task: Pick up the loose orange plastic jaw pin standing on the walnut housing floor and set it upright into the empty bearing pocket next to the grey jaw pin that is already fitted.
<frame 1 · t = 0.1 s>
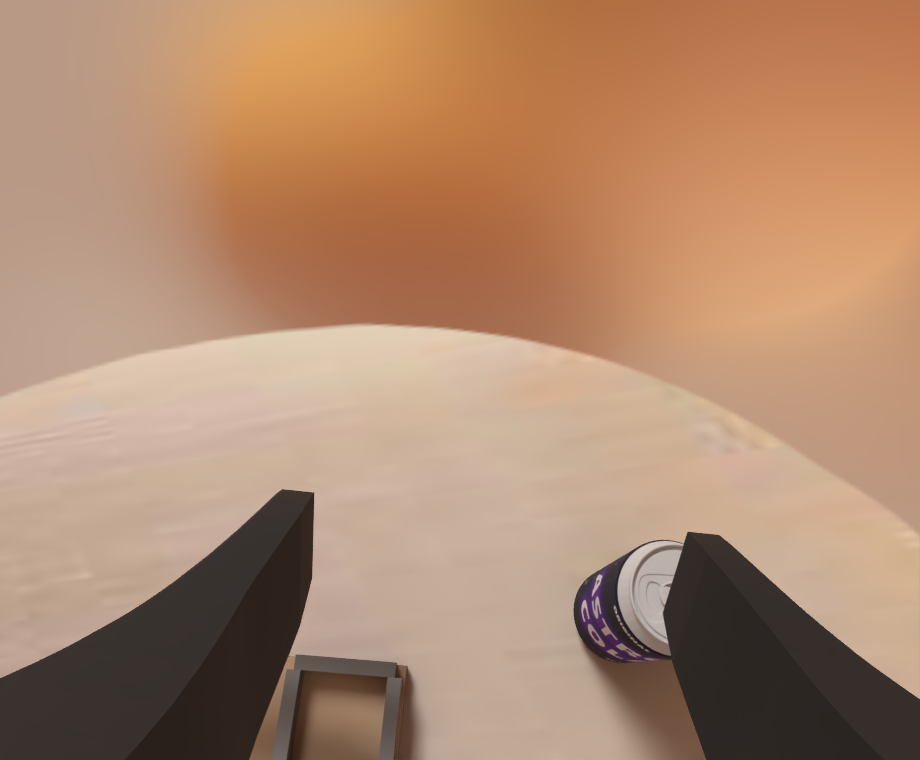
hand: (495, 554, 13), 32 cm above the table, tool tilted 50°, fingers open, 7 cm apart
beverage can: (613, 615, 43), on the table
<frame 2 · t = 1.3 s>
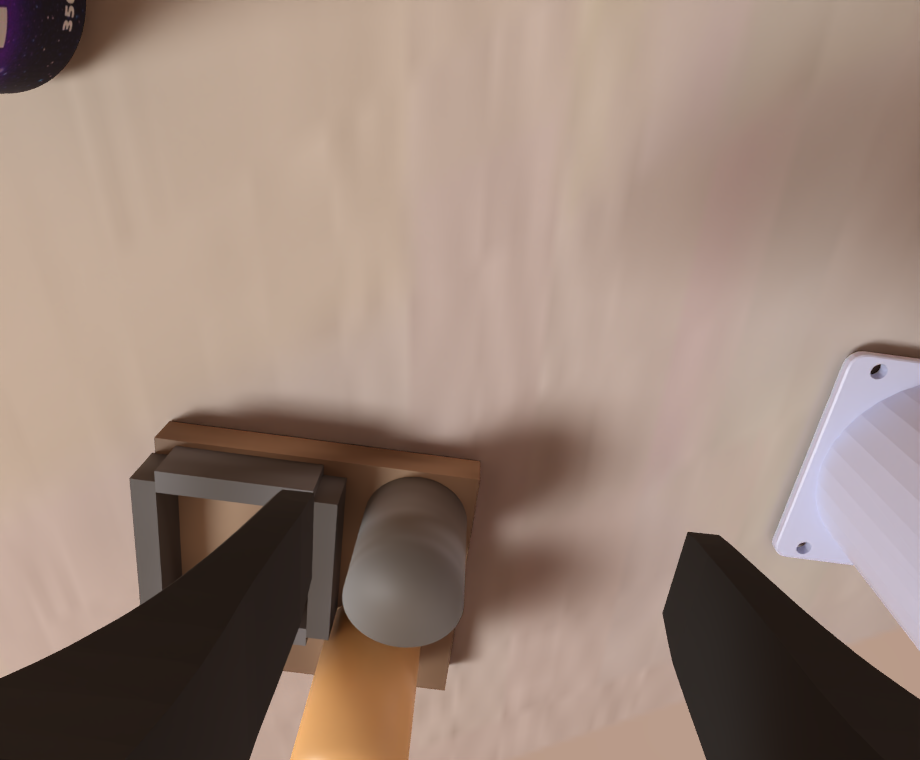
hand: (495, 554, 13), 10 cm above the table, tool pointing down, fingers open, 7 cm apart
jaw pin: (374, 634, 26), point 1 cm above the table, touching housing
housing: (319, 554, 26), on the table
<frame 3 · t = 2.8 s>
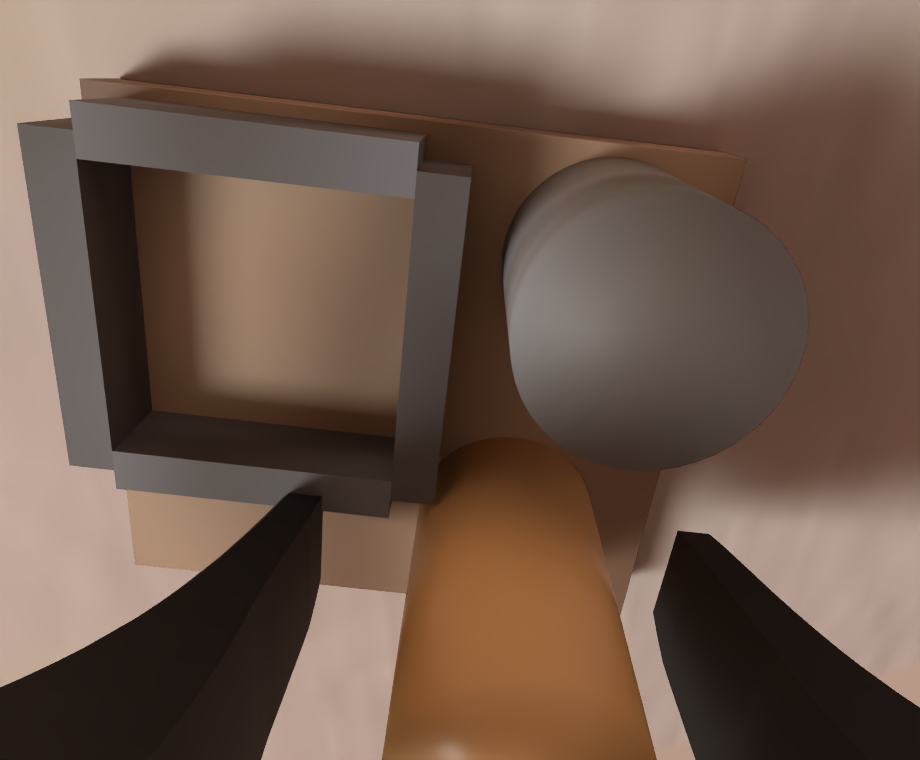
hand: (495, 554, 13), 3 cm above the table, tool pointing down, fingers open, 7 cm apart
jaw pin: (504, 511, 14), point 1 cm above the table, touching housing
housing: (401, 368, 14), on the table
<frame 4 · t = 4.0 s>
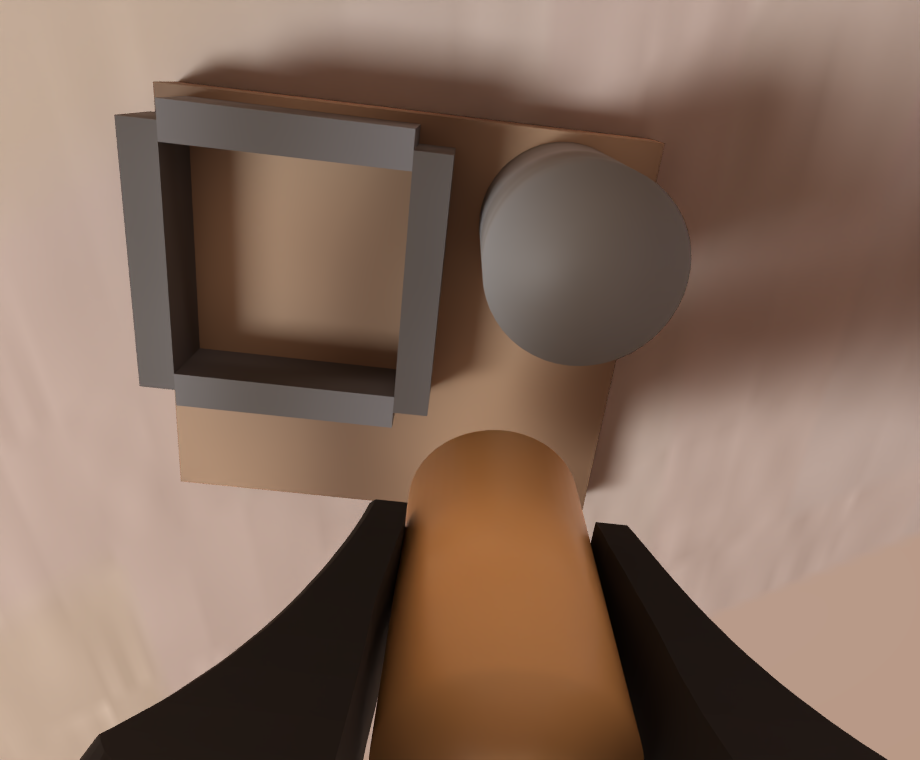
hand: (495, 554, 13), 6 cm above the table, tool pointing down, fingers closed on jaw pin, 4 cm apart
jaw pin: (492, 504, 14), point 5 cm above the table, touching gripper
housing: (400, 315, 17), on the table
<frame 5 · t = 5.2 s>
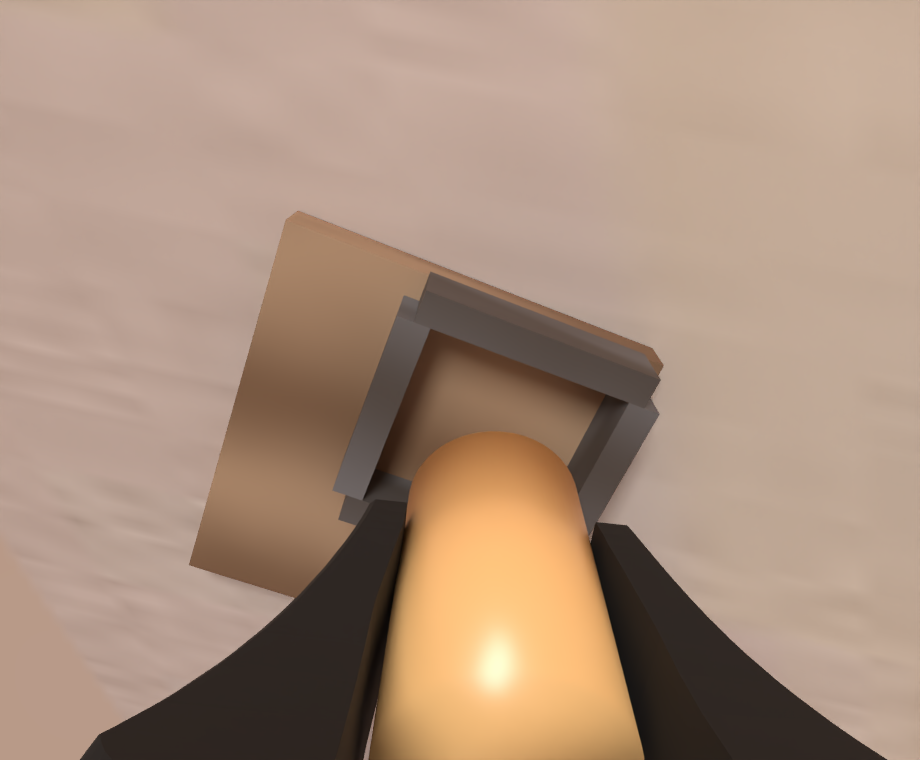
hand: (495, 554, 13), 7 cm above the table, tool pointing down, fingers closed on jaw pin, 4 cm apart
jaw pin: (492, 505, 14), point 5 cm above the table, touching gripper
housing: (411, 451, 20), on the table
when the fingers open (3 cm above the table, at t = 6.1 s): jaw pin stays where it is, resting on housing.
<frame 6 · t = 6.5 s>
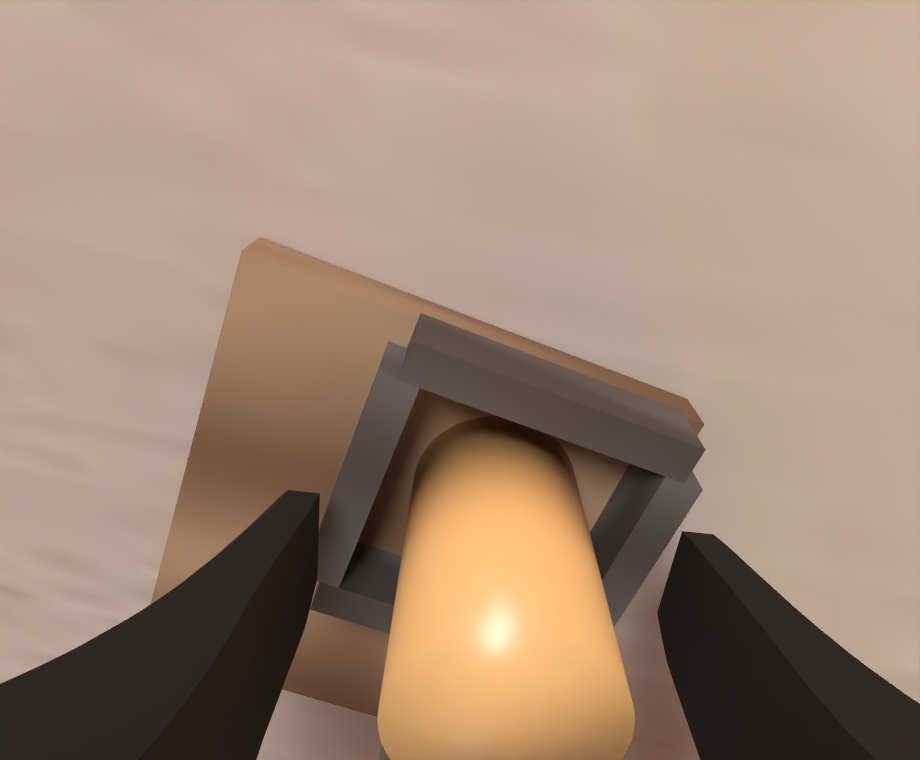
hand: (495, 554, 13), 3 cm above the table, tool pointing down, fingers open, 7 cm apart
jaw pin: (494, 488, 15), point 1 cm above the table, touching housing
housing: (400, 516, 17), on the table
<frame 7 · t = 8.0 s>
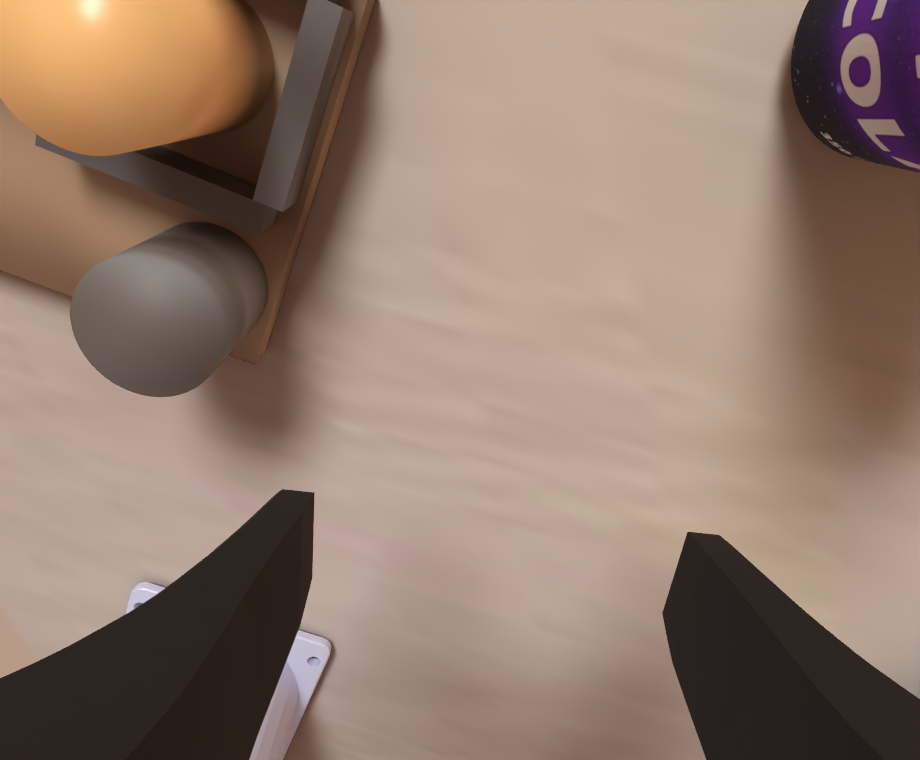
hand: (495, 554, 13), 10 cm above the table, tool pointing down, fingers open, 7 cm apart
jaw pin: (204, 57, 17), point 1 cm above the table, touching housing
housing: (148, 121, 19), on the table
beverage can: (881, 46, 18), on the table
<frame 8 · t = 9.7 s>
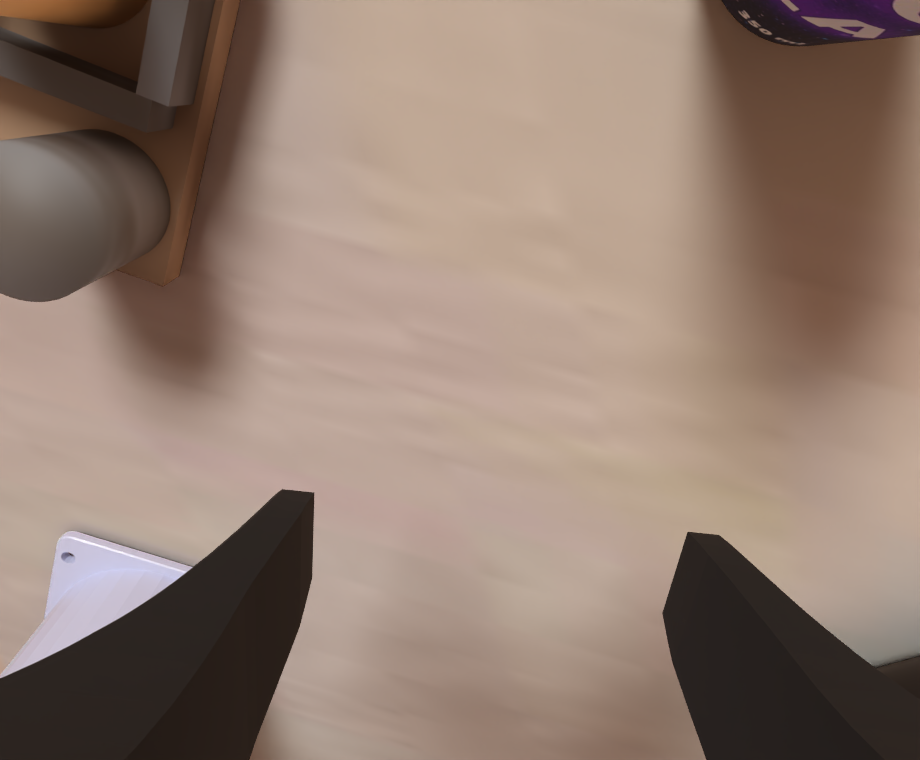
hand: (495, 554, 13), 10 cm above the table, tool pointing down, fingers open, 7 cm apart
housing: (37, 25, 18), on the table
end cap: (890, 674, 28), on the table
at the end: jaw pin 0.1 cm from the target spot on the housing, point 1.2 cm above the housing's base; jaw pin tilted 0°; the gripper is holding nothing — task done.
